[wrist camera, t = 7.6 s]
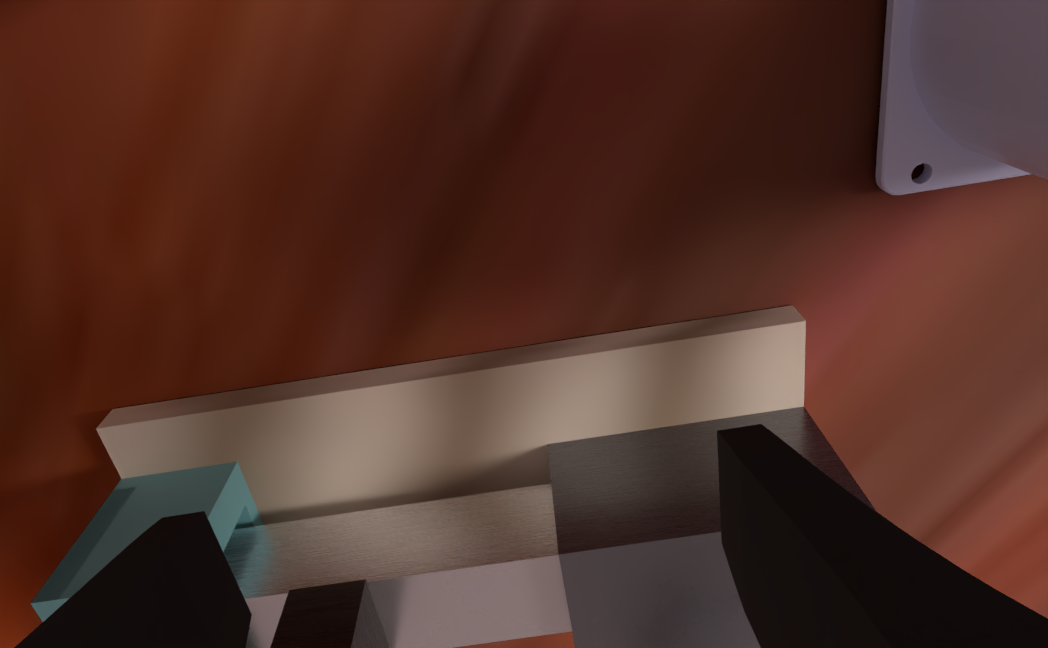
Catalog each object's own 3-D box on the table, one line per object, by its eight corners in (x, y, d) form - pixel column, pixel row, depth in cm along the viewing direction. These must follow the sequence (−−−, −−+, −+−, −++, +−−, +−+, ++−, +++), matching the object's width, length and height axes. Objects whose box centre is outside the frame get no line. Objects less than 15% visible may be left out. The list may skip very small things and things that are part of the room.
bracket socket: (237, 461, 21) (173, 582, 17) (301, 614, 24) (260, 750, 20) (121, 478, 21) (30, 603, 17) (199, 629, 24) (137, 767, 20)
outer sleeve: (803, 406, 21) (874, 509, 17) (800, 521, 23) (864, 638, 19) (547, 444, 21) (558, 554, 17) (566, 554, 23) (580, 676, 19)
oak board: (792, 305, 20) (805, 321, 19) (788, 563, 25) (799, 585, 24) (112, 409, 21) (95, 428, 20) (227, 640, 26) (217, 665, 25)
